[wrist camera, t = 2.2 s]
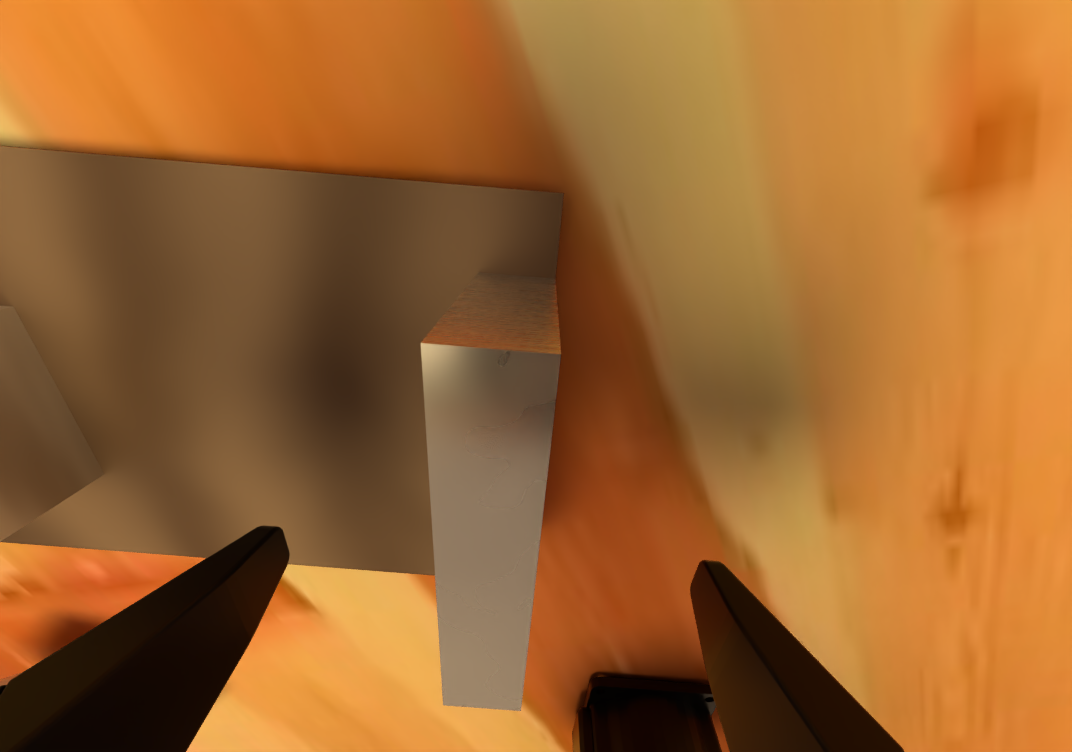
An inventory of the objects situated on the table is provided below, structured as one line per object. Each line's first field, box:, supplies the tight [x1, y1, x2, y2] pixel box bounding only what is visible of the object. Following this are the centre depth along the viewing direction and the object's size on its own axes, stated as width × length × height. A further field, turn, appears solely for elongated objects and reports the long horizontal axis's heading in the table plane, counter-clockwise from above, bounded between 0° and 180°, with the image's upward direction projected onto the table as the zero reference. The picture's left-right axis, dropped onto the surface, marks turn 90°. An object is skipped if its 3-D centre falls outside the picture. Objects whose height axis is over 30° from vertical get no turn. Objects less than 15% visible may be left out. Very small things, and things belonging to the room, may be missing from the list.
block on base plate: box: [0, 146, 564, 711], centre depth 10 cm, size 24×14×6 cm, turn 86°
